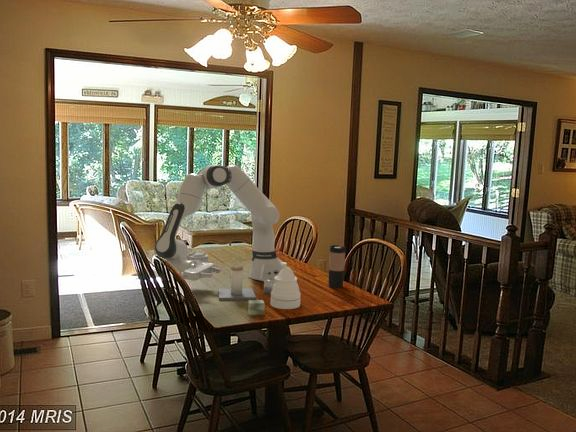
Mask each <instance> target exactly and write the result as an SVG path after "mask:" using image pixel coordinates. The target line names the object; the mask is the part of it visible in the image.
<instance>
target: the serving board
mask: <svg viewBox="0 0 576 432" xmlns="http://www.w3.org/2000/svg"><path fill="white" fill-rule="evenodd" d="M217 293H218V300H219V301H249V300H257V296H256V294H255V291H254V288H247V287H246V288H245V287H242V294H239V295H234V294H231V288H218V289H217Z"/></svg>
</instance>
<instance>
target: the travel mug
mask: <svg viewBox="0 0 576 432" xmlns="http://www.w3.org/2000/svg"><path fill="white" fill-rule="evenodd" d="M345 258H346V246H345V245H344V246H339V245H336V244H335V245H334V244H333V245H332V244H331V245H329V262H328V284H327V285H328V287H329V288H332V289H341V288H343V286H344V277H345V265H346V264H345V263H346V261H345V260H346V259H345Z"/></svg>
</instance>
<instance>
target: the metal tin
mask: <svg viewBox="0 0 576 432" xmlns="http://www.w3.org/2000/svg"><path fill="white" fill-rule="evenodd" d="M275 281H276V280H274V279H273V278H267V279H264V281H263V293H264V294H265V295H271V291H272V290H273V287H274V284H275Z"/></svg>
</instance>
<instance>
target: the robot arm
mask: <svg viewBox="0 0 576 432" xmlns="http://www.w3.org/2000/svg"><path fill="white" fill-rule="evenodd" d="M222 186H227V187H228V189H229V190H230V192H232V194H234V196H235V197H236V198H237V199H238V200H239V202H240V203H241V204H242V205H243V206H244V207H245V208H246V209H247V210H248V211H249V212H250V216H251V227H252V228H251V229H252V250H251V254H250V255H251V256H250V257H251V266H250V270H249V274H248V277H249V278H250V279H252V280H258V281H261V282H264V279H267V278H273V279H274V277H275V276H278V275H279V273H280V271H281V270H282V269H283V268H284V267H282V266H281V262H283V260H281V258H279V257H280V252H279V251H277V250H275V239H276V238H275V237H276V236H275V232H274V227H273V226H274V225H275V224H276V223H278V221H279V219H280V212H279V209H278V208H277V207H276V206H275V204H273V203H272V201H271V200H270V199H269V198H268V197H267V196H266V195H265V194H264V192H262V191H261V190H260V188H259V187H258V186H257V185H256V183H254V181H253V180H252V179H251V178H250V176H248V175H247V174H246V172H244V170H243V169H242V168H240V166H238V165H236V164H229V165H227V166H225V165H222V164H218V163H216V164H211V165H207V166H205V167H203V168H202V169H200V170H199V171H198V173H193V172H192V173H189V174H186V176H184V179H183V181H182V183H181V186H180V189H179V192H178V195H177V198H176V201H175V203H174V204H173V206H172V207H171V209H170V212H169V213H168V215H167V218H166V222H165V225H164V227H163V229H162V232H161V234H160V235H159V237H157V239H156V241H155V243H154V251H155V254H156V255H157V256H158V258H159V257H162V258H164V259H166V260H167V261H168V262H170V263H171V264H172V265H173V266H174V267H175V268H176V269H177V270H178V271H179V272H180V274H181V275H182V276H183V278H184V279H183V280H189V281H199V280H201V279H204V278H205V279H207V278H209V279H210V278H212V277H213V274H212V273H216V274H220V273H221V268H219V267H218V268H217V267H216V264H214V263H213V262H209V261H208V262H199V260H187V254H188V246H187V244H186V242H184V240H180V239H178V238H176V237H177V233H178V231H179V230H180V229H179V228H180V226H181V223H182V222H183V220H184V219H185V218H186V217H188V216H192V215H194V214H196V213H197V212H198V210H199V208H200V206H201V204H202V203H201V202H202V199H203V194H204V193H205V190H206V189H217V188H220V187H222ZM154 270H155V272H156V273H157V271H156V268H155V267H154Z"/></svg>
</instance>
